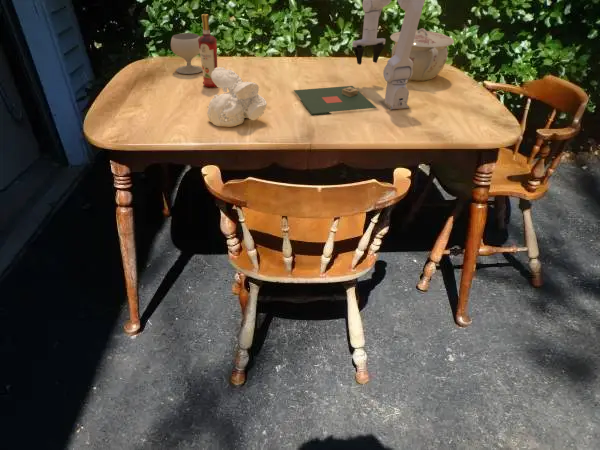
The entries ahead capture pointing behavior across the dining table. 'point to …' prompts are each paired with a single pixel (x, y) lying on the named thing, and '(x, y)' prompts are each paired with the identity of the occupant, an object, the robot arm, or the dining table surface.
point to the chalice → (186, 51)
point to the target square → (331, 99)
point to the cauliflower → (234, 100)
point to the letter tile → (349, 91)
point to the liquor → (207, 52)
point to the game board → (319, 106)
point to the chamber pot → (426, 53)
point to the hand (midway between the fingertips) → (367, 63)
